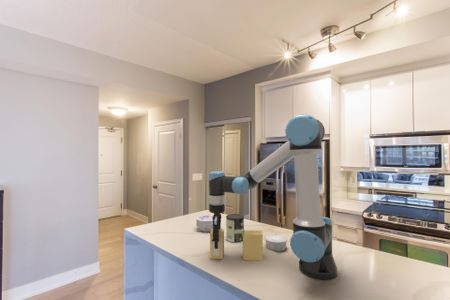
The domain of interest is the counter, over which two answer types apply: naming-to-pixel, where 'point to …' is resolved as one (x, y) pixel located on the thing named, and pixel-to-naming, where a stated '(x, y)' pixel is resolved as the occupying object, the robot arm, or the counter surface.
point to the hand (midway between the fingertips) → (217, 251)
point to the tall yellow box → (252, 245)
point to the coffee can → (234, 228)
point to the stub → (221, 245)
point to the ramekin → (276, 242)
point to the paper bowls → (205, 223)
